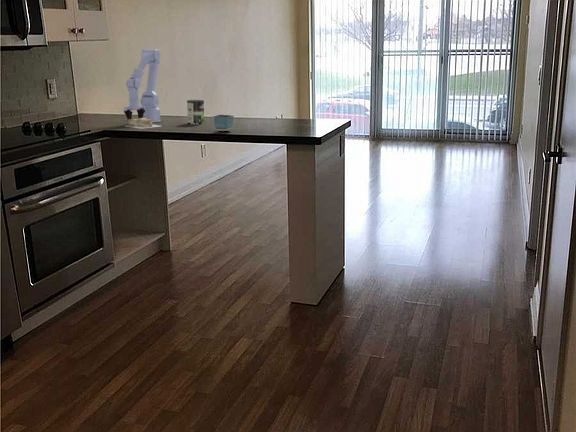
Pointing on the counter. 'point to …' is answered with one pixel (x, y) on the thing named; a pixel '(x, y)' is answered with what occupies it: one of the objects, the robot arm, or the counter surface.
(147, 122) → the t block
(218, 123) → the flower pot
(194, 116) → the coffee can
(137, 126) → the mat
